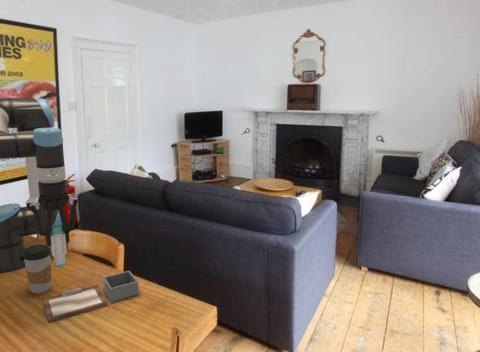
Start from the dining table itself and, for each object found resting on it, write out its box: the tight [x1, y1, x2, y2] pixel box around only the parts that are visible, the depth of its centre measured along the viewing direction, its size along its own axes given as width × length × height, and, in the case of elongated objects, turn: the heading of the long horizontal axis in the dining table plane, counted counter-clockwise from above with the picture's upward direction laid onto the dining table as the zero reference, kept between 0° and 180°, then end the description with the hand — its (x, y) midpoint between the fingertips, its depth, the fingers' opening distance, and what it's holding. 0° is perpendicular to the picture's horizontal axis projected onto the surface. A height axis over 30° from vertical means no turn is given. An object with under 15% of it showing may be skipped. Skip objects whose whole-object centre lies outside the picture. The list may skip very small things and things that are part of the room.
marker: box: [51, 224, 67, 268], centre depth 113 cm, size 3×3×13 cm
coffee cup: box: [23, 244, 52, 295], centre depth 124 cm, size 8×8×15 cm
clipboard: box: [42, 284, 108, 324], centre depth 117 cm, size 13×17×2 cm
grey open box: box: [102, 270, 140, 304], centre depth 124 cm, size 9×9×5 cm
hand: (59, 253), depth 114 cm, fingers closed on marker, 2 cm apart
